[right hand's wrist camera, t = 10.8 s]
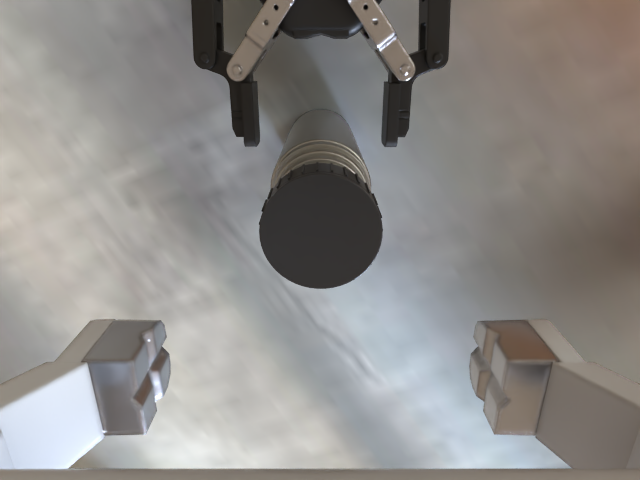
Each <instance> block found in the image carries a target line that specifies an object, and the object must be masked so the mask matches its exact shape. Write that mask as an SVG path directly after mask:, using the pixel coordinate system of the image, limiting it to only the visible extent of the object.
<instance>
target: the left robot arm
mask: <svg viewBox="0 0 640 480" xmlns="http://www.w3.org/2000/svg"><path fill="white" fill-rule="evenodd" d="M260 1H261V3H262V4H263V7H262V8H261V10H260V11H259V13H258V14H257V16H256V18H255V19H254V21H253V22H252V24H251V26H250V27H249V29H248V30H247V32H246V35H245V37H244V39H243V41H242V42H241V44H240V46H239V47H238V49H237V50H236V52H235V53H234V55H233V54H230V53H228V52H225V51H224V43H223V0H191V4H192V28H193V51H194V61H195V63H196V65H197V66H198V67H200V68H202V69H207V70H210V71H213V72H215V73H218V74H220V75H222V76H224V77H225V78H226V79H227V81H228V83H229V87H230V99H231V111H232V112H231V113H232V127H233V130H234V132H235V135H236V137H244V145H245V147H257V145H258V144H259V142H260V128H259V109H258V89H257V81H253V73H254V72H255V70H256V69H257V67H258V66H259V64H260V63H261V61H262V60H263V58H264V57H265V55H266V54H267V52H268V51H269V50H270V49H271V47H272V46H273V44H274V43H275V41H276V40H277V38H278V37H279V35H280V34H281V32H282V31H283V32H284V33H285V34H287V35H289V36H291V37H293V38H295V39H308V38H312V37H315V36H318V35H323V36H327V37H330V38H334V39H347V38H348V37H351V36H353V35H355V34H356V33H358V32H359V31H360V32H361V34H362V35H363V37H364V38H365V40H366V41H367V43H368V44H369V46H370V47H371V48H372V50H373V51H374V52H375V53H376V55H377V56H378V58H379V59H380V61H381V62H382V64H383V65H384V67H385V68H386V70H387V71H388V82H384V95H383V116H382V144H383V145H384V147H396V146H397V140H398V137H405V136H406V134H407V131H408V129H409V118H410V103H411V89H412V84H413V82H414V80H415V79H416V78H417V77H418V76H419V75H421V74H424V73H427V72H429V71H432V70H434V69H440V68H442V67H444V66H445V65H446V63H447V61H448V53H449V28H450V3H451V0H419V42H418V51H417V52H414V53H411V54H409V55H408V53H407V51H406V50H405V48H404V47H403V45H402V44H401V42H400V41H399V39H398V37H397V34H396V32H395V30H394V28H393V27H392V25H391V24H390V22H389V21H388V19H387V17H386V16H385V14H384V13H383V11H382V10H381V8H380V7H379V4H380V2H381V1H382V0H260Z"/></svg>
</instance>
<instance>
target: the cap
mask: <svg viewBox="0 0 640 480" xmlns="http://www.w3.org/2000/svg"><path fill="white" fill-rule="evenodd" d="M267 199H268V200H267ZM267 199H266V200H265V203H264V206H263V208H262V212H263V213H262V216H261V219H260V222H259V225H260V228H259V234H260V242H261V246H262V249H263V252H264V254H265V256H266V258H267V260H268V261H269V263H270V264H271V265H272V267H273V268H274V269H275V270H276V271H277V272H278V273H279V274H281V275H282V276H283V277H285V278H286V279H288V280H289V281H291V282H293V283H295V284H298V285H301V286H304V287H309V288H317V289H326V288H333V287H337V286H341V285H344V284H346V283H349V282H351V281H352V280H354V279H356V278H357V277H359V276H360V275H361V274H362V273H364V272H365V271H366V270H367V269H368V268H369V266H370V265H371V264H372V262H373V261H374V259H375V258H376V256H377V254H378V252H379V249H380V246H381V241H382V232H383V229H382V221H381V218H382V215H381V213H380V210H379V208H378V206H377V205H378V203H377V201H376V198H375V196H374V193H373V194H372V193H371V191H370V189H369V187H368V184H367V183H364V181H363V180H362V179H361V178H360V177H358V174H357V173H356V174H354V173H353V172H351V171H349V170H348V169H346V167H345V166H344V167H341V166H338V165H334V164H333V163H330V164H327V163H319V162H316V163H314V164H308V165H305V164H303V165H302V166H301V167H299V168H296V169H294V170H292V169H291V170H290V172H289V173H287V174H286V175H285V176H284V177H282V178H281V177H280V178H279V181H278V182H277V184H276V185H275V186H274V188H271V190H270V193H269V195H268V198H267Z"/></svg>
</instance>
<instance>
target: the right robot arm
mask: <svg viewBox="0 0 640 480" xmlns="http://www.w3.org/2000/svg"><path fill="white" fill-rule="evenodd" d="M166 337H167V336H166V331H165V326H164V324H163V322H162V321H161V320H115V319H96V320H92V321H90V322H89V323H88V324H87V325H86V326H85V328H84V329H83V330H82V331H81V332H80V333H79V334H78V335H77V337H76V338H75V339H74V340H73V341H72V342H71V343H70V344H69V346H68V347H67V348H66V349H65V350H64V351H63V352H62V354H61V355H60V356H59V357H58V358H57V359H56V360H55V361H54V362H46V363H44V364H42V365H40V366H38V367H35V368H33V369H31V370H29V371H27V372H25V373H23V374H21V375H19V376H17V377H15V378H12V379H10V380H8V381H6V382H4V383H2V384H0V480H640V384H638V383H636V382H634V381H632V380H630V379H627V378H625V377H623V376H621V375H619V374H617V373H615V372H613V371H611V370H609V369H607V368H605V367H602V366H600V365H598V364H596V363H594V362H586V361H585V360H584V359H583V358H582V357H581V356H580V355H579V354H578V352H577V351H576V350H575V349H574V348H573V347H572V346H571V345H570V343H569V342H568V341H567V340H566V339H565V338H564V337H563V335H562V334H561V333H560V332H559V331H558V330H557V329H556V328H555V326H554V325H553V324H552V323H551V322H550V321H548V320H546V319H532V320H500V321H477V324H476V326H475V330H474V336H473V337H474V339H475V341H476V343H477V345H478V347H477V348H476V349H475V350H474V351H473V352H472V353H471V357H470V365H469V368H470V380H471V383H472V387H473V390H474V392H475V394H476V396H477V397H478V398H480V399H481V400H483V401H484V408H483V412H484V414H485V416H486V418H487V420H488V422H489V424H490V426H491V429H492V431H493V433H494V434H500V435H536V438H537V439H538V440H539V441H540V442H542V443H543V444H544V445H545V446H546V447H548V448H549V449H550V450H551V451H552V452H554V453H555V454H556V455H557V456H558V457H559V458H561V459H562V460H563V461H564V462H565V463H567V464H568V465H569V466H570V467H571V468H573V469H68V468H69V467H70V466H71V465H72V464H74V463H75V462H76V461H77V460H78V459H79V458H81V457H82V456H83V455H84V454H85V453H87V452H88V451H89V450H90V449H91V448H93V447H94V446H95V445H96V444H97V443H99V442H100V441H101V440H102V439H103V438H104V435H139V434H146V433H147V431H148V429H149V427H150V424H151V422H152V420H153V418H154V416H155V414H156V412H157V408H156V401H157V400H159V399H160V398H162V397H163V396H164V394H165V392H166V390H167V387H168V383H169V378H170V356H169V353H168V352H167V351H166V350H165V349H164V348H163V347H162V345H163V343H164V341H165V339H166Z"/></svg>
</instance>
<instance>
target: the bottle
mask: <svg viewBox="0 0 640 480" xmlns="http://www.w3.org/2000/svg"><path fill="white" fill-rule="evenodd" d="M316 162H319V163H327V164H330V163H333V164H334V165H338V166H341V167H344V166H345V167H346V169H348V170H349V171H351V172H353V173H354V174H356V173H357V174H358V177H360V178H361V179H362V180H363V181H364V183H367V184H368V187H369V189H370V191H371V180H370V176H369V172H368V170H367V167H366V165H365V162H364V160H363V158H362V155H361V153H360V150H359V148H358V146H357V143H356V141H355V138H354V136H353V134H352V131H351V129H350V127H349V125H348V123H347V122H346V121H345V120H344V119H343V118H342V117H341V116H340V115H338V114H337V113H335V112H332V111H329V110H324V109H317V110H312V111H309V112H307V113H305V114H303V115H302V116H301V117H299V118H298V119H297V120H296V122H295V123H294V124H293V126H292V128H291V130H290V133H289V135H288V138H287V140H286V142H285V145H284V147H283V150H282V152H281V154H280V157H279V159H278V162H277V164H276V167H275V169H274V172H273V175H272V179H271V188H274V186H275V185H276V184H277V182H278V181H279V178H280V177H281V178H282V177H284V176H285V175H286V174H287V173H289V172H290V170H291V169H292V170H294V169H296V168H299V167H301V166H302V165H303V164H305V165H308V164H314V163H316Z"/></svg>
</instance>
